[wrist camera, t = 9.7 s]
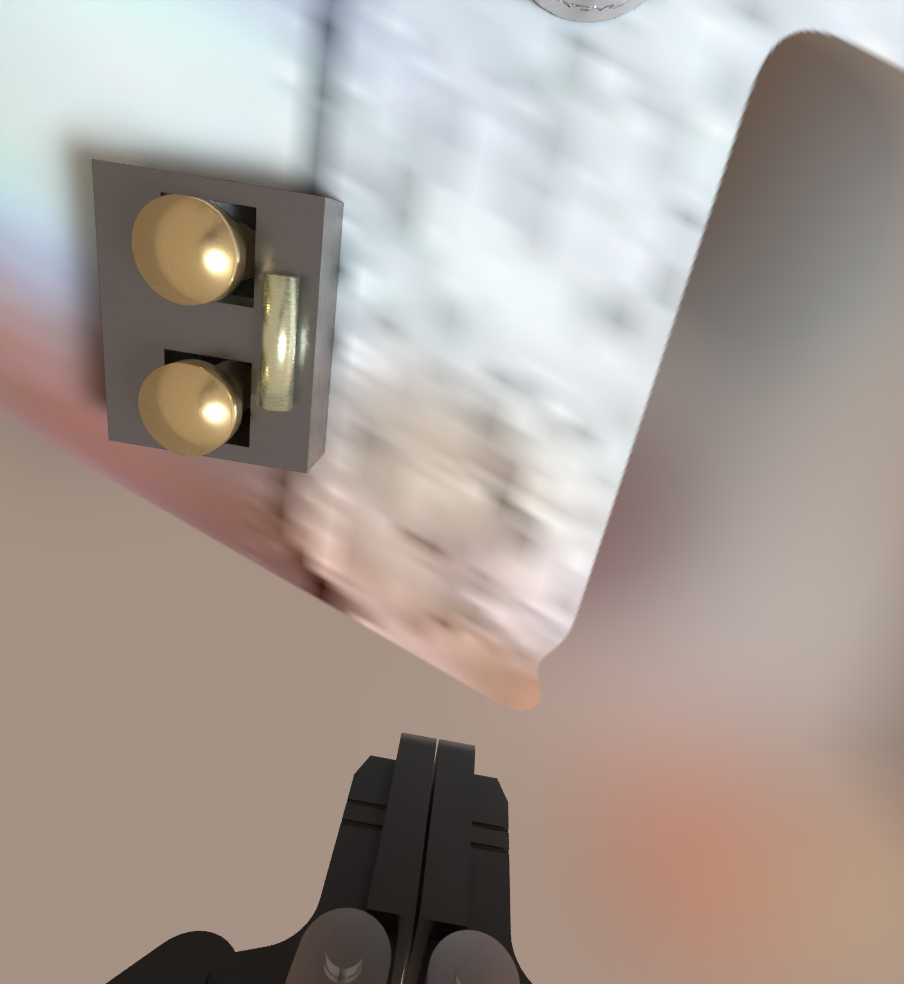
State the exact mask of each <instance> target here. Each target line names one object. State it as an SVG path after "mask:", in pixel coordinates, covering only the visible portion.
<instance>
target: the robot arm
mask: <svg viewBox="0 0 904 984" xmlns="http://www.w3.org/2000/svg"><path fill="white" fill-rule="evenodd" d="M534 1H535V2H536V3H538V4H539V5H540V6H541V7H542V8H544V9H546V10H547V11H549V12H551V13H552V14H554V15H556V16H557V17H561V18H564V19H568V20H571V21H574V22H600V21H604V20H609V19H613V18H616V17H618V16H621V15H623V14H625V13H627V12H629V11H631V10H633V9H635V8H636V7H637V6H639V5H640V4H641V3H643V2H644V1H645V0H534ZM436 741H437V739H434V738H429V737H424V736H418V735H413V734H407V733H402V734H401V739H400V744H399V749H398V754H397V759H396V760H391V759H387V758H381V757H376V756H370V757H369V758H368V759H367V760H366V762H365V763H364V764H363V765H362V766H361V767H360V768H359V770H358V771H357V772H356V773H355V774H354V777H353V781H352V785H351V789H350V792H349V796H348V800H347V804H346V807H345V810H344V814H343V818H342V822H341V825H340V829H339V832H338V836H337V839H336V843H335V847H334V850H333V854H332V858H331V861H330V865H329V869H328V872H327V876H326V880H325V883H324V887H323V891H322V894H321V898H320V901H319V904H318V907H317V909H316V911H315V913H314V914H313V916H312V917H311V919H310V920H309V922H308V923H307V924H306V925H305V926H304V927H303V928H302V929H301V930H300V931H299V932H297V933H296V934H295V935H293V936H292V937H290V938H288V939H287V940H285V941H282V942H280V943H278V944H275V945H271V946H267V947H262V948H257V949H251V950H245V951H239V952H235V951H234V949H233V947H232V946H231V945H230V944H229V943H228V941H226V940H225V939H224V938H222V937H221V936H219V935H217V934H215V933H211V932H207V931H193V932H187V933H184V934H180V935H178V936H176V937H173V938H171V939H169V940H168V941H166V942H164V943H163V944H161V945H160V946H159V947H157V948H156V949H154V950H153V951H151V952H150V953H149V954H147V955H146V956H144V957H143V958H142V959H140V960H139V961H137V962H136V963H134V964H133V965H132V966H130V967H129V968H128V969H126V970H125V971H123V972H122V973H121V974H119V975H117V976H116V977H115V978H113V979H112V980H110V981H109V982H108V983H106V984H400V983H401V978H402V974H403V980H402V984H532V983H531V982H530V981H529V979H528V978H527V977H526V975H525V974H524V972H523V971H522V969H521V968H520V966H519V964H518V962H517V960H516V957H515V955H514V951H513V947H512V943H511V925H510V878H509V877H510V876H509V854H508V851H509V833H508V801H507V799H506V797H505V795H504V793H503V790H502V788H501V786H500V784H499V782H498V779H497V778H491V777H486V776H481V775H475V774H474V764H475V746H474V745H468V744H463V743H457V742H452V741H446V740H441V739H440V740H439V743H438V747H437V753H436V758H435V750H436ZM434 758H435V762H434ZM433 766H434V767H433ZM403 970H404V973H403Z"/></svg>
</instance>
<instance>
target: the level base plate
mask: <svg viewBox="0 0 904 984" xmlns="http://www.w3.org/2000/svg"><path fill="white" fill-rule="evenodd" d="M92 168H93V185H94V202H95V218H96V235H97V252H98V268H99V285H100V302H101V319H102V335H103V352H104V369H105V386H106V402H107V419H108V436H109V440H111V441H117V442H123V443H129V444H135V445H141V446H147V447H153V448H159V449H165V450H168V449H166V448H165V447H163V446H162V445H160V444H159V443H158V442H157V441H156V440H155V439H154V438H153V437H152V436H151V435H150V433H149V432H148V431H147V429H146V428H145V426H144V424H143V422H142V419H141V416H140V412H139V406H138V397H139V392H140V389H141V386H142V384H143V382H144V380H145V379H146V378H147V376H148V375H149V374H150V373H152V372H153V371H154V370H156V369H158V368H160V367H162V366H165V365H168V364H171V363H174V362H177V361H180V360H184V359H197V354H199V355H205V356H211V357H217V358H223V359H230V360H236V361H242V362H248V363H252V377H251V411H250V426H249V425H243V424H240V425H239V428H238V430H237V431H236V433H235V434H234V435H233V436H232V437H231V438H230V439H229V440H228V441H226V442H225V443H224V444H222V445H221V446H219V447H218V448H216V449H215V450H213V451H212V452H210V453H208V454H204V455H201V456H207V457H213V458H219V459H225V460H231V461H237V462H243V463H249V464H255V465H261V466H267V467H273V468H279V469H285V470H291V471H297V472H303V473H307V472H308V471H309V470H310V469H311V468H312V467H313V465H314V464H315V463H316V462H317V461H318V460H319V458H320V457H321V456H322V455H323V454H324V452H325V440H326V427H327V414H328V401H329V388H330V375H331V362H332V349H333V336H334V323H335V310H336V297H337V284H338V271H339V258H340V245H341V232H342V219H343V206H344V203H343V202H340V201H337V200H333V199H330V198H327V197H322V196H316V195H310V194H304V193H298V192H292V191H285V190H279V189H273V188H267V187H261V186H254V185H248V184H242V183H236V182H230V181H224V180H217V179H211V178H205V177H199V176H193V175H187V174H180V173H174V172H168V171H162V170H156V169H150V168H143V167H137V166H131V165H125V164H119V163H113V162H106V161H100V160H94V159H92ZM172 194H177V195H185V196H191V197H196V198H201V199H205V200H211V201H217V202H223V203H229V204H235V205H241V206H248V207H254V208H256V241H255V275H254V298H249V297H242V296H236V295H230V294H229V295H228V296H227V297H225V298H223V299H221V300H219V301H216V302H211V303H205V304H200V305H182V304H177V303H174V302H172V301H169V300H167V299H166V298H164V297H162V296H161V295H159V294H158V293H157V292H156V291H154V290H153V289H152V288H151V287H150V286H149V285H148V283H147V282H146V281H145V280H144V278H143V277H142V275H141V273H140V272H139V269H138V267H137V265H136V262H135V259H134V256H133V251H132V232H133V227H134V223H135V221H136V219H137V216H138V215H139V213H140V212H141V210H142V209H143V208H144V207H145V206H146V205H147V204H148V203H149V202H151V201H152V200H154V199H156V198H158V197H161V196H165V195H172Z"/></svg>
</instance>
